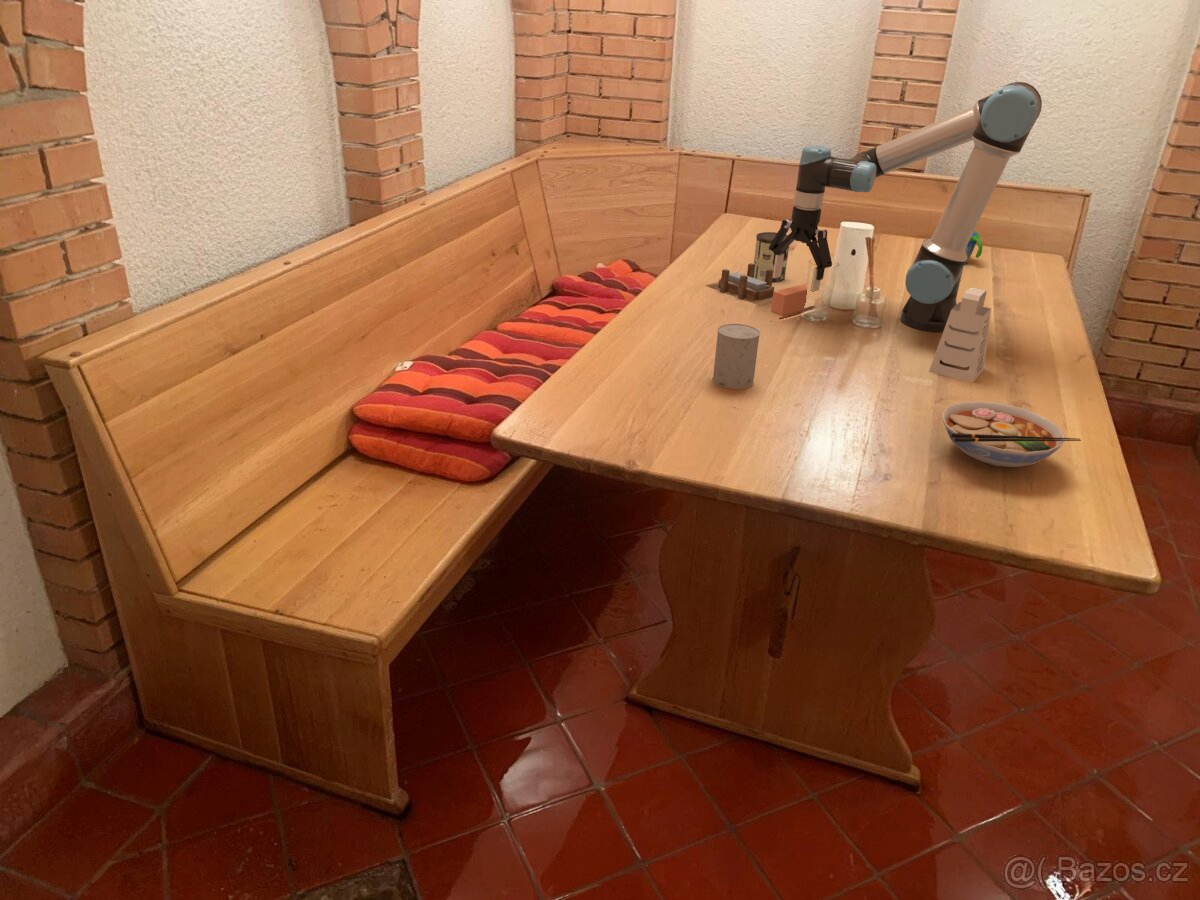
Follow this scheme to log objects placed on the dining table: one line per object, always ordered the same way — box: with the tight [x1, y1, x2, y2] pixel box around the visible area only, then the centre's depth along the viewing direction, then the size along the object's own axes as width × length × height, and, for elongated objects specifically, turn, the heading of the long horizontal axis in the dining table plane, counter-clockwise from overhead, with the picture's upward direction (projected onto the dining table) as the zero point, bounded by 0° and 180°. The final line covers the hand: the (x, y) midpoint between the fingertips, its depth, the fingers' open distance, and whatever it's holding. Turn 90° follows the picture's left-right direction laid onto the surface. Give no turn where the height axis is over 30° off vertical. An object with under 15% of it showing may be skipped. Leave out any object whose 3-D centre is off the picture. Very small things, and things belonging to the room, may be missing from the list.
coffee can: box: [753, 231, 790, 283], centre depth 279 cm, size 10×10×14 cm
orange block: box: [770, 283, 808, 320], centre depth 255 cm, size 4×14×7 cm, turn 129°
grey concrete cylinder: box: [712, 323, 761, 390], centre depth 209 cm, size 10×10×12 cm
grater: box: [928, 287, 992, 383], centre depth 218 cm, size 10×10×20 cm
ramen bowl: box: [941, 400, 1082, 468], centre depth 180 cm, size 25×23×8 cm
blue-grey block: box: [728, 272, 767, 291], centre depth 267 cm, size 12×4×4 cm, turn 39°
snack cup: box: [964, 230, 983, 265], centre depth 308 cm, size 16×10×10 cm
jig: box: [704, 262, 775, 306], centre depth 267 cm, size 22×13×8 cm, turn 39°
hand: (795, 283), depth 253 cm, fingers open, 13 cm apart
